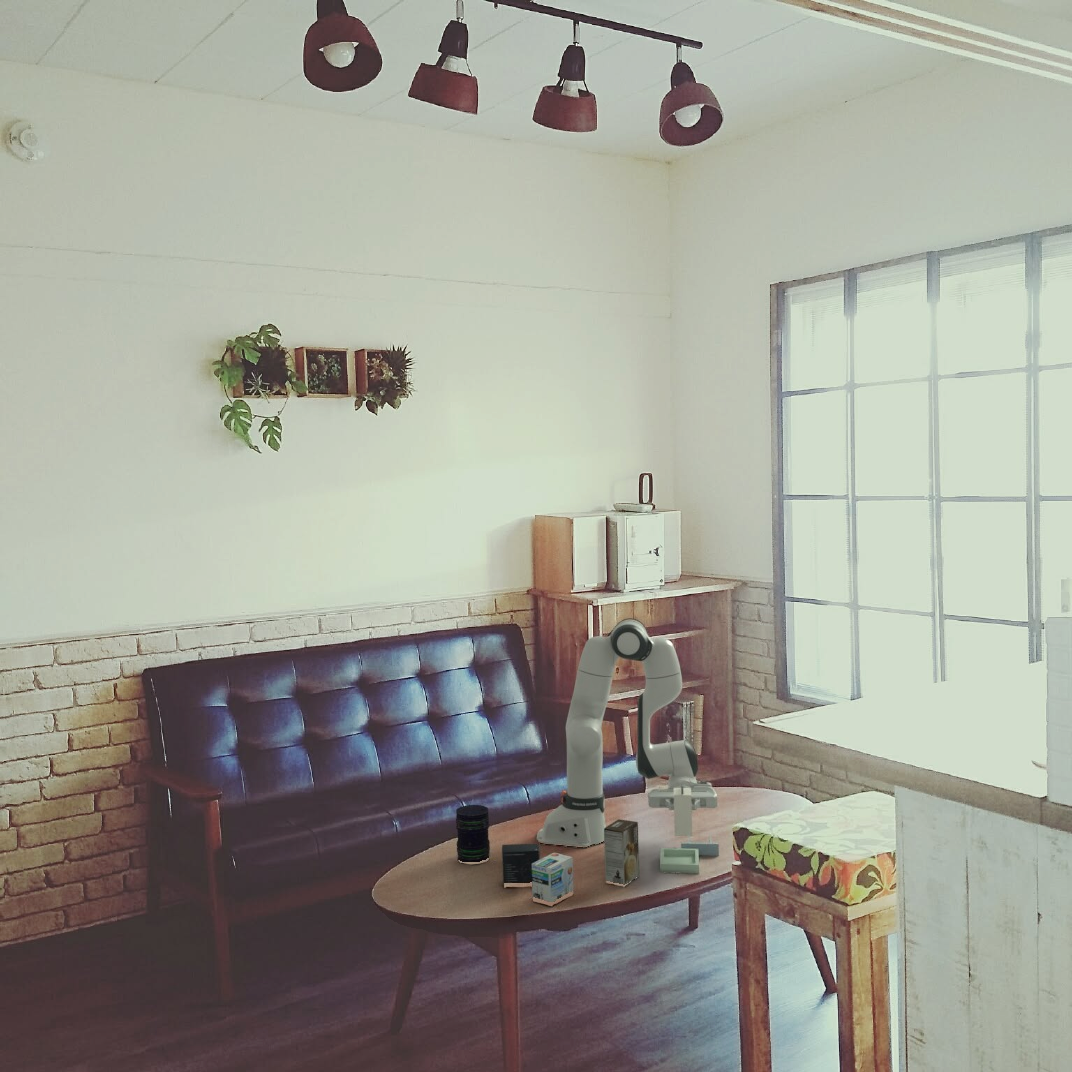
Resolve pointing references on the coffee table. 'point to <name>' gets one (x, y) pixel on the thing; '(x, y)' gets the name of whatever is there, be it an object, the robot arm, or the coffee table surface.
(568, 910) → the coffee table surface
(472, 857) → the storage jar
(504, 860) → the box
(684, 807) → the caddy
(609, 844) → the coffee box
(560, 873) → the light bulb box
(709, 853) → the dock
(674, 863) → the tray
